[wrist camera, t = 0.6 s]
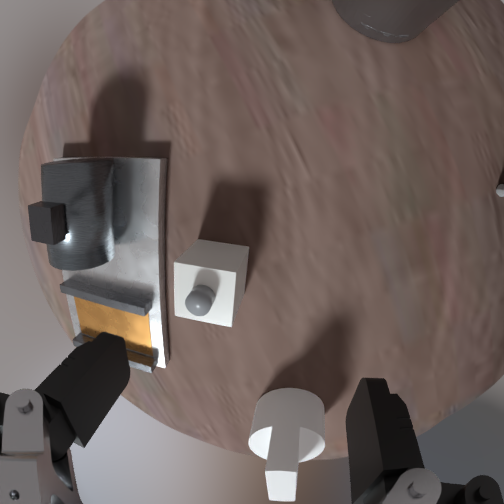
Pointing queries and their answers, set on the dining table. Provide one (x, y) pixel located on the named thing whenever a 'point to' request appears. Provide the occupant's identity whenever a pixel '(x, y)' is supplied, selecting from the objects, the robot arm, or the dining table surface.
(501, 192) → the dog figurine
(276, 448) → the white appliance knob
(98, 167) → the motor mount
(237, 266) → the cube with round knob
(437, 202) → the dining table surface
